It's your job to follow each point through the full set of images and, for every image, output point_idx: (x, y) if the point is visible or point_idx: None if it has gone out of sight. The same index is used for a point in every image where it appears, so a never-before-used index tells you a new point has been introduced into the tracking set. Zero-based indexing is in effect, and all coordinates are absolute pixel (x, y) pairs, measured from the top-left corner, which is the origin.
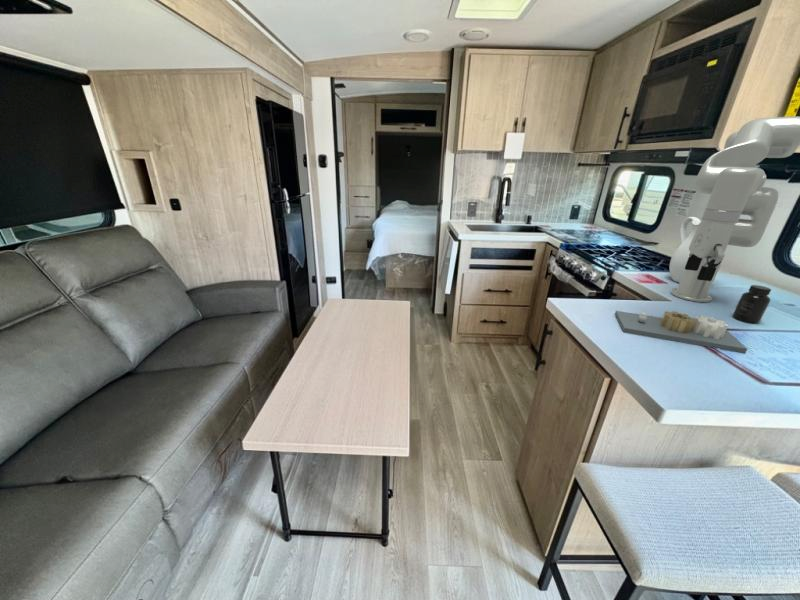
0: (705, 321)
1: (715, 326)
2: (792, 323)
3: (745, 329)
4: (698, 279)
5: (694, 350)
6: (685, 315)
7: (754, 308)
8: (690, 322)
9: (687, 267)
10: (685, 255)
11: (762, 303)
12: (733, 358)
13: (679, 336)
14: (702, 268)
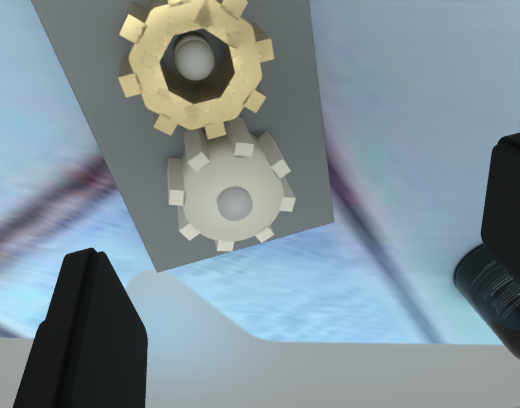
0: (209, 180)
1: (185, 212)
2: (496, 343)
3: (391, 264)
4: (70, 258)
5: (20, 121)
6: (239, 100)
7: (490, 311)
8: (156, 119)
9: (511, 164)
10: None
11: (504, 340)
12: (72, 232)
13: (73, 65)
14: (28, 395)
